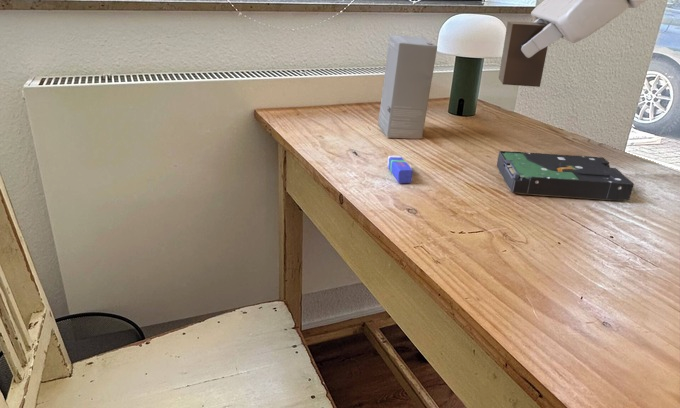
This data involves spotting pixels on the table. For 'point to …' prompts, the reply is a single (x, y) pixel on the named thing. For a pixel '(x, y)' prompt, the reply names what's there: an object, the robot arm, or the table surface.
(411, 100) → the cosmetic box
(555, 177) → the disk drive
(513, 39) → the walnut block
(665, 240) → the table surface
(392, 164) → the eraser
